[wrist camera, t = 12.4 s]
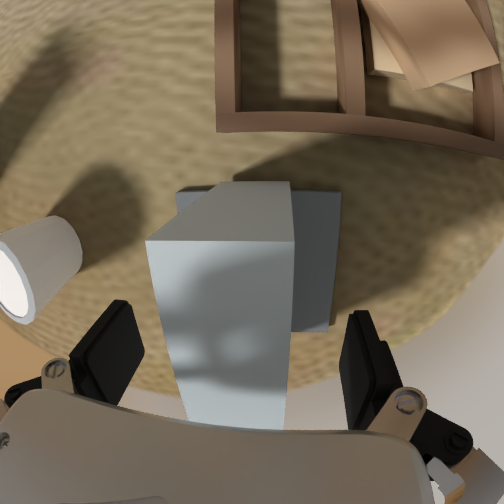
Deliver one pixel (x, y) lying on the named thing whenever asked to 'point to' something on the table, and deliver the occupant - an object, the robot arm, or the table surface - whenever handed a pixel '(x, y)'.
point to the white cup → (36, 265)
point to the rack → (354, 90)
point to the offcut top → (431, 38)
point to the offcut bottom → (387, 66)
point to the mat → (306, 253)
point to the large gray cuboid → (229, 302)
